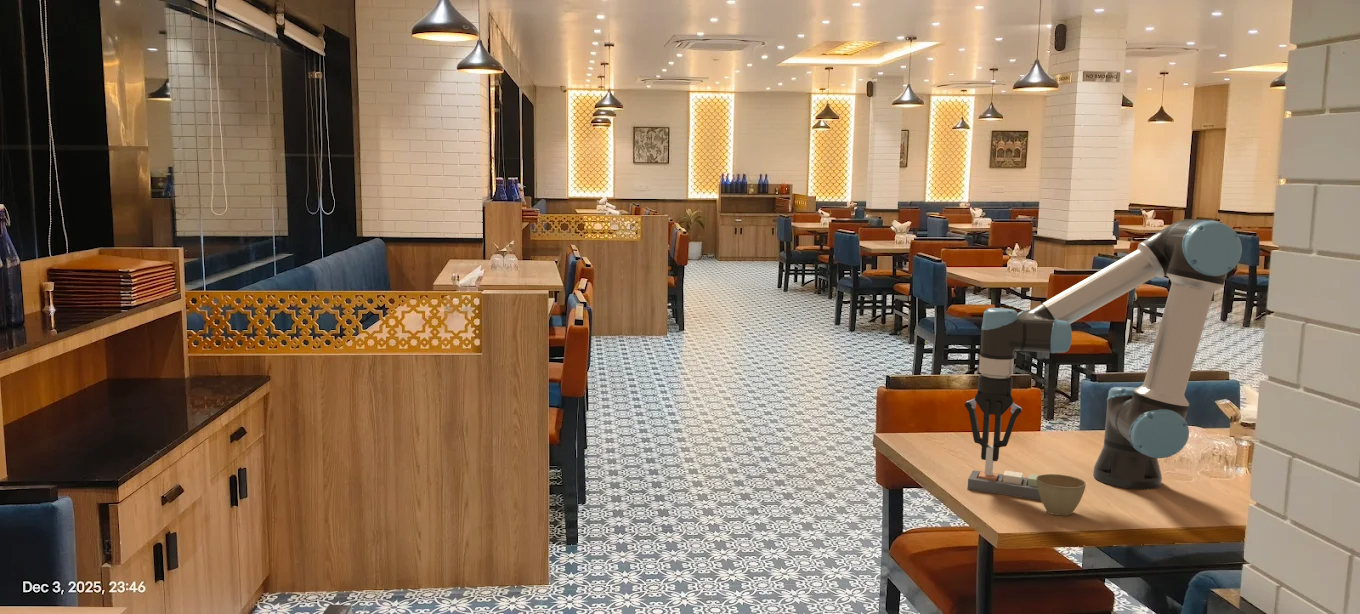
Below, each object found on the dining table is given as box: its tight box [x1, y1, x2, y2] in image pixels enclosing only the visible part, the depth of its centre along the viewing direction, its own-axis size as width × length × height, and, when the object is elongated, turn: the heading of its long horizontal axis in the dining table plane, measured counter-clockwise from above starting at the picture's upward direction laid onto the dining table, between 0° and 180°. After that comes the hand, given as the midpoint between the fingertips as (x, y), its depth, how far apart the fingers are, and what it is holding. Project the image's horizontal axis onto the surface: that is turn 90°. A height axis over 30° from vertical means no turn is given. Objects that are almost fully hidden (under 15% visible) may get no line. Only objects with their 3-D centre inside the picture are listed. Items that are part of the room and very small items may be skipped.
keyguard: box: [967, 469, 1042, 501], centre depth 227 cm, size 19×8×2 cm, turn 66°
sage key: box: [1027, 473, 1040, 487], centre depth 224 cm, size 4×4×2 cm
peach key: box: [978, 471, 999, 481], centre depth 229 cm, size 4×4×2 cm
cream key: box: [1003, 470, 1024, 485], centre depth 227 cm, size 4×4×2 cm
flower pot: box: [1037, 473, 1087, 517], centre depth 212 cm, size 10×10×7 cm
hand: (988, 473), depth 229 cm, fingers closed
